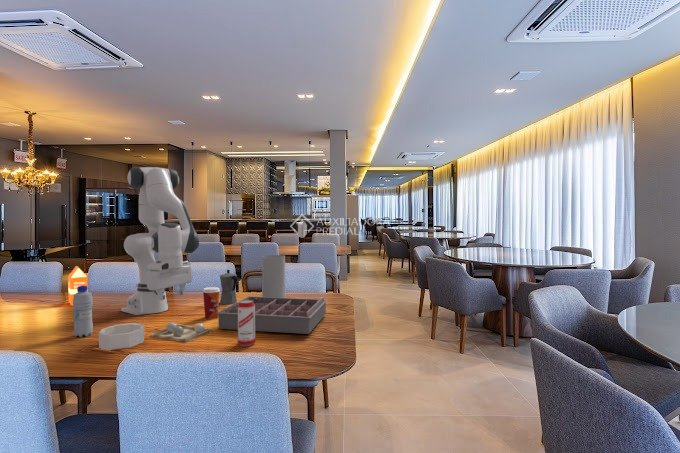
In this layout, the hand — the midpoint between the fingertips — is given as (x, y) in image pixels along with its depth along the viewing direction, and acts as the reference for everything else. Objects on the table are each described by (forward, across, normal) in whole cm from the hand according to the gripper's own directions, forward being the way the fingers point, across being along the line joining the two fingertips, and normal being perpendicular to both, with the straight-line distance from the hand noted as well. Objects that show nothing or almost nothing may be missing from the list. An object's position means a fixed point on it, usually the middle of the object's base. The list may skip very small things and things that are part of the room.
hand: (171, 297), depth 151 cm
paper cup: (+15, -24, -1) cm, 28 cm away
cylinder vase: (+15, -65, +7) cm, 67 cm away
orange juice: (+14, -21, -89) cm, 92 cm away
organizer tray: (+15, -28, +31) cm, 45 cm away
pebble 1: (+14, 0, 0) cm, 14 cm away
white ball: (+14, -3, +11) cm, 18 cm away
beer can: (+15, -1, +35) cm, 38 cm away
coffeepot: (+15, -52, -13) cm, 56 cm away
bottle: (+15, +15, -31) cm, 37 cm away
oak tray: (+15, 0, +5) cm, 16 cm away
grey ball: (+14, +3, +6) cm, 16 cm away
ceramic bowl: (+15, +16, -8) cm, 23 cm away
